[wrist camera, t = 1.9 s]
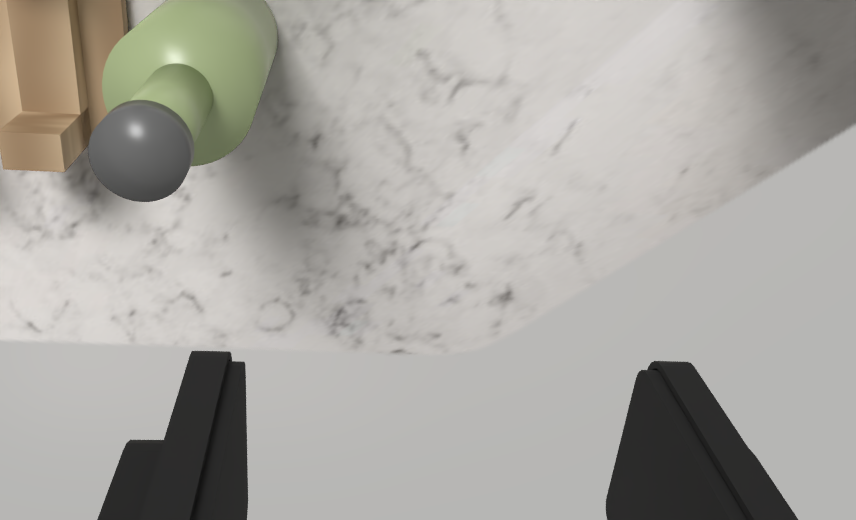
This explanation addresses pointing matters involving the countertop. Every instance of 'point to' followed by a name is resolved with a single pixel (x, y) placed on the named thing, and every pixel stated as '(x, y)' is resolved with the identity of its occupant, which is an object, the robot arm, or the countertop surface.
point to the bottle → (180, 93)
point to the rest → (53, 77)
